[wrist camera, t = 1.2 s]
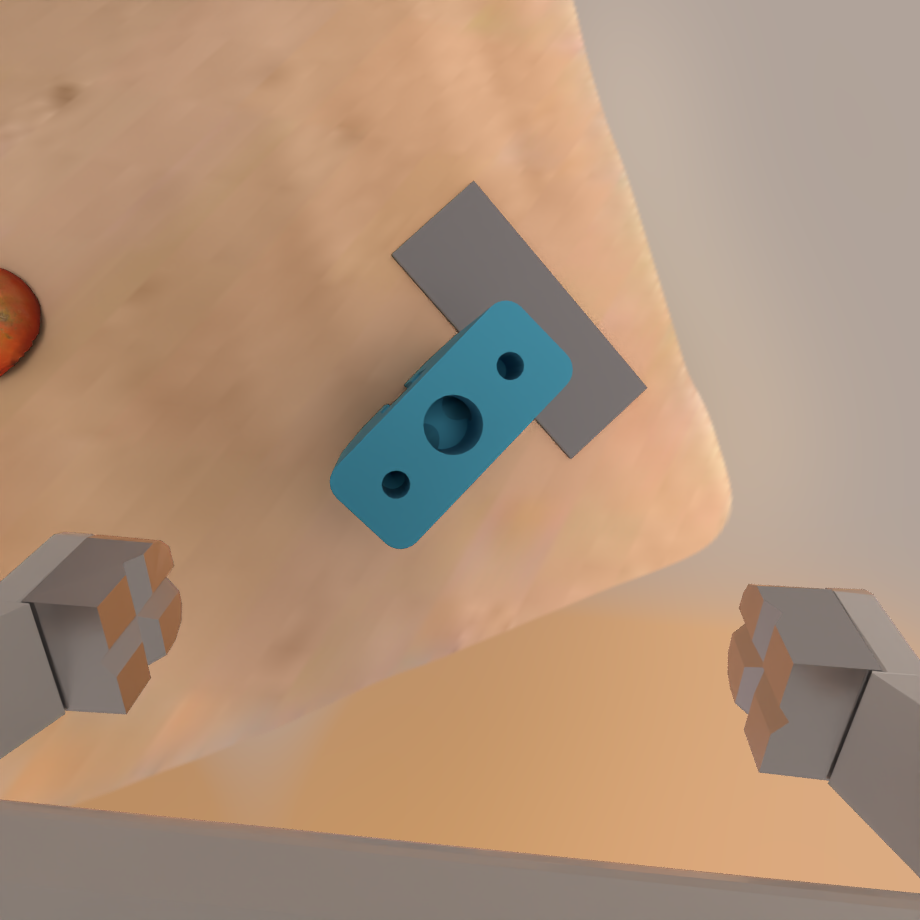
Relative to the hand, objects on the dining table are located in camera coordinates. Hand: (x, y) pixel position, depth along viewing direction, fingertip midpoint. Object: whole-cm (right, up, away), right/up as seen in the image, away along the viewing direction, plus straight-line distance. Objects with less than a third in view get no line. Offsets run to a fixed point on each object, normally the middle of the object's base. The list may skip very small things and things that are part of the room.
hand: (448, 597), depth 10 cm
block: (-3, +5, +42) cm, 42 cm away
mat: (+5, +12, +42) cm, 44 cm away
